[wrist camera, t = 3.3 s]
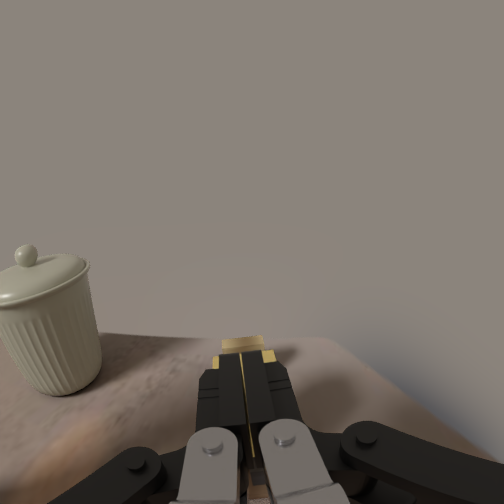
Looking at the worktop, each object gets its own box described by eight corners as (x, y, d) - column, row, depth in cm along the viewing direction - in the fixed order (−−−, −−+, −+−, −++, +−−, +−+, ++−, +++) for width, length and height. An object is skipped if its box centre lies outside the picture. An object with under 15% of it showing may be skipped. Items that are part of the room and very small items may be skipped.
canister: (86, 424, 30) (20, 263, 24) (2, 397, 32) (-51, 269, 26) (137, 349, 47) (105, 222, 41) (58, 342, 49) (26, 234, 43)
